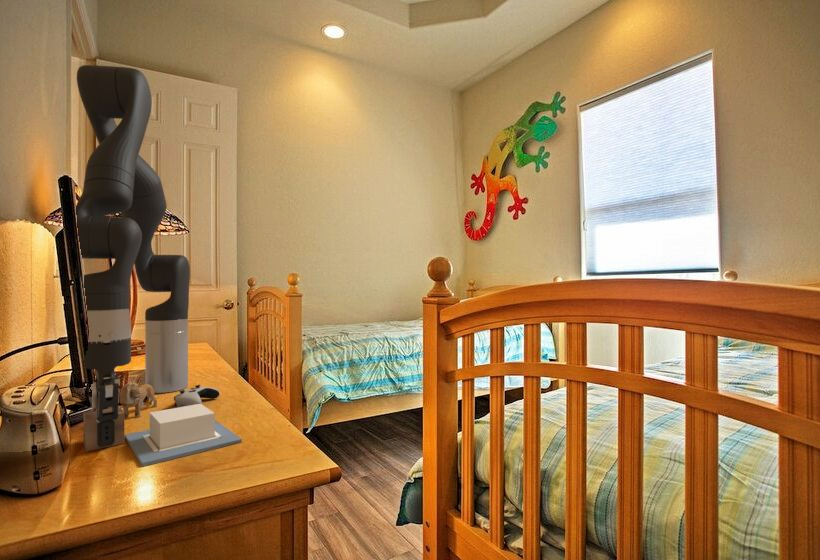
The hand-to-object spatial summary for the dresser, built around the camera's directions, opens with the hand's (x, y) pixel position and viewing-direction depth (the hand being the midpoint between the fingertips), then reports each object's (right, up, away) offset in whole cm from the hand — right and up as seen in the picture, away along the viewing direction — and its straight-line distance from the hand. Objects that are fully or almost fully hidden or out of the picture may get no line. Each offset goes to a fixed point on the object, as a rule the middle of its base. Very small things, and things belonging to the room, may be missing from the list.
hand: (103, 440), depth 70 cm
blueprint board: (+12, 0, +1) cm, 12 cm away
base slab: (+12, 0, +1) cm, 12 cm away
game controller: (+6, -1, +22) cm, 23 cm away
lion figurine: (-5, -1, +17) cm, 17 cm away
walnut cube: (0, 0, 0) cm, 0 cm away
